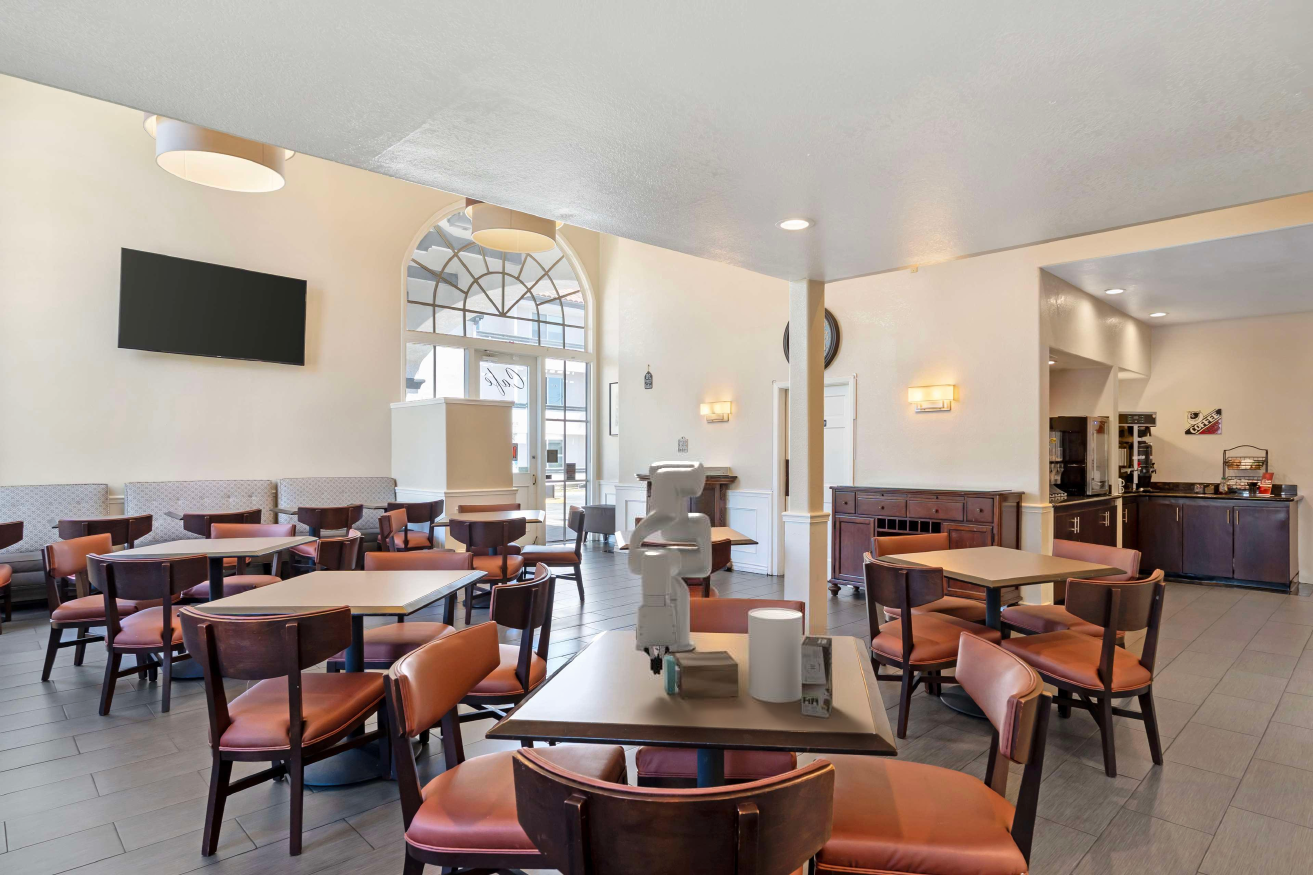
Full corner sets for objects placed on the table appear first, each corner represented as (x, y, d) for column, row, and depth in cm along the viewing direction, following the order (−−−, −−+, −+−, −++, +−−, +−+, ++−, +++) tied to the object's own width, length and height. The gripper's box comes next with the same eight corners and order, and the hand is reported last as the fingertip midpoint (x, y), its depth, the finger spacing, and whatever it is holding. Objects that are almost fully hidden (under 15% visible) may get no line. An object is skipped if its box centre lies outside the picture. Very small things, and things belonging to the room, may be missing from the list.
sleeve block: (674, 683, 181) (674, 652, 181) (726, 681, 183) (726, 650, 183) (682, 698, 169) (682, 666, 169) (738, 696, 171) (738, 663, 171)
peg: (664, 687, 177) (664, 655, 177) (717, 684, 179) (717, 653, 179) (667, 693, 172) (667, 661, 172) (722, 691, 174) (722, 659, 174)
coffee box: (829, 718, 156) (828, 646, 157) (800, 714, 158) (800, 644, 159) (833, 705, 165) (832, 637, 165) (806, 701, 167) (805, 634, 167)
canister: (811, 700, 168) (810, 617, 169) (758, 703, 166) (757, 620, 166) (791, 683, 181) (790, 606, 182) (742, 686, 179) (741, 608, 180)
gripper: (682, 596, 180) (682, 667, 179) (625, 598, 178) (625, 669, 177) (687, 602, 172) (688, 676, 172) (628, 604, 170) (628, 678, 170)
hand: (656, 672), depth 174 cm, fingers closed
